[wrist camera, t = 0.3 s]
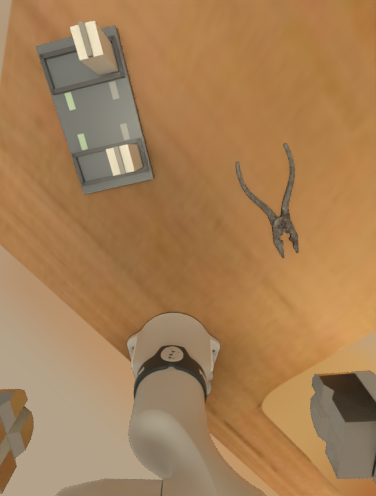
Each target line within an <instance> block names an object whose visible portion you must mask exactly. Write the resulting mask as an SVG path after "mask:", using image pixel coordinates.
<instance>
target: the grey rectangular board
mask: <svg viewBox="0 0 376 496" xmlns="http://www.w3.org/2000/svg"><path fill="white" fill-rule="evenodd" d="M101 30H102V31H103V33H104V34H105V35H106V37H107V38H108V39H109V41H110V42H111V43H112V45H113V49H114V53H115V57H116V61H117V65H118V68H119V72H115V73H111V74H107V75H103V76H99V75H98V74H96V73H95V72H94V71H93V70H91V69H90V68H89V67H87V66H86V65H85V64H84V63H82V62H81V61H80V60H79V56H78V53H77V49H76V46H75V43H74V39H73V37H69V38H65V39H61V40H58V41H54V42H50V43H46V44H42V45H39V46H36V49H37V52H38V55H39V58H40V61H41V64H42V67H43V70H44V73H45V77H46V80H47V83H48V86H49V89H50V92H51V95H52V98H53V101H54V104H55V107H56V110H57V113H58V116H59V119H60V122H61V125H62V128H63V131H64V134H65V137H66V141H67V144H68V147H69V150H70V153H71V156H72V159H73V162H74V165H75V168H76V171H77V174H78V177H79V180H80V183H81V186H82V189H83V192H84V194H89V193H93V192H97V191H102V190H106V189H111V188H115V187H120V186H124V185H128V184H133V183H137V182H142V181H146V180H151V179H154V175H153V171H152V167H151V163H150V159H149V155H148V151H147V147H146V143H145V139H144V135H143V131H142V127H141V123H140V119H139V115H138V111H137V107H136V103H135V99H134V95H133V91H132V87H131V83H130V79H129V75H128V71H127V67H126V63H125V59H124V55H123V51H122V47H121V43H120V39H119V35H118V31H117V28H116V27H115V26H111V27H107V28H103V29H101ZM126 144H138V146H139V150H140V154H141V158H142V162H143V165H144V167H142V168H140V169H138V170H136V171H133V172H128V173H125V174H120V175H115V176H113V173H112V170H111V166H110V163H109V159H108V156H107V152H106V149H109V148H113V147H117V146H122V145H126Z"/></svg>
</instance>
